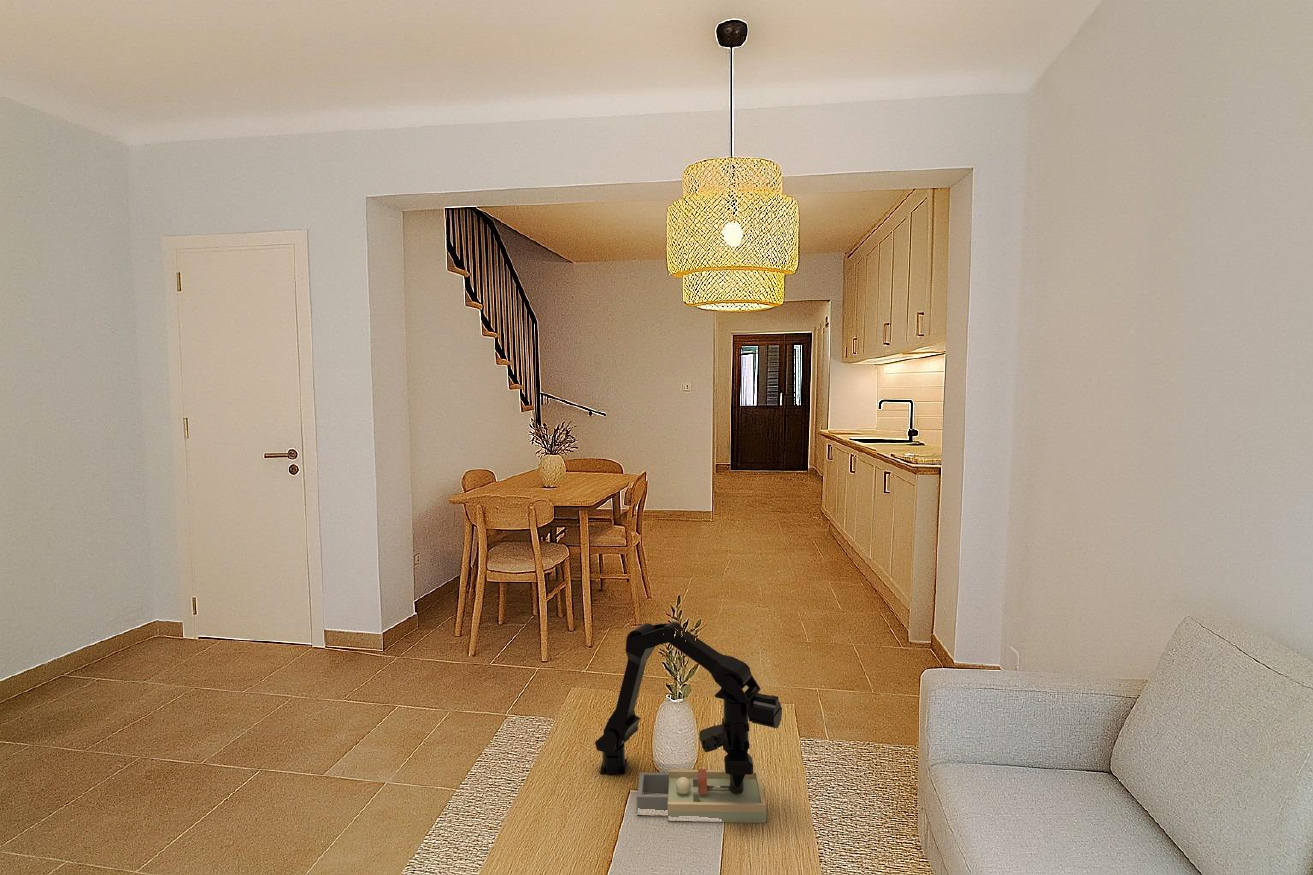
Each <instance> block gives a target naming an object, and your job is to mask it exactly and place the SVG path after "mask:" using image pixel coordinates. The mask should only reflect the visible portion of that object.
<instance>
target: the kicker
mask: <svg viewBox="0 0 1313 875" xmlns="http://www.w3.org/2000/svg"><path fill="white" fill-rule="evenodd" d="M697 770H698V792H699V794H707V791H730V792H731V793H733V794H741V793H743V791H744V784H743V781H742V783H741V785H740V787H735V785H734V781H733V776H732V774H730V786H721V785H707V772H706V770H707V769H706V768H698V769H697Z"/></svg>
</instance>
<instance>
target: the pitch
mask: <svg viewBox="0 0 1313 875" xmlns="http://www.w3.org/2000/svg"><path fill="white" fill-rule="evenodd" d="M706 772H707V785H721V786H730V774H726V773H725V769H720V770H719V769H706ZM668 773H669V792H668V793H667V795H668V816H671V817H679V816H699V817H708V818H719V819H722V821H723V822H722V823H741V824H742V823H747V824H748V823H749V824H750V823H752V824H754V823H755V824H757V823H758V824H761V823H763V824H764V823H765V824H766V823H767V804H766V798H765V794H764V788H763V782H762V779H761V773H760V770H758V769H756V770H754V769H753V774H751V775H745V777H744V779H743V784H744V791H743V793H741V794H733V793H731V792H730V791H707V794H699V792H698V769H669V770H668ZM681 777H686V778H687V779H689V781H690V783H691V788H690V791H689V792H688V793H686V794H680V793H679V792H678V791H677V790H676V781H677V780H678V779H679V778H681ZM668 816H667V817H668Z"/></svg>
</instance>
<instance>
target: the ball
mask: <svg viewBox="0 0 1313 875" xmlns="http://www.w3.org/2000/svg"><path fill="white" fill-rule="evenodd" d="M690 788H691V783H690V781H689V779H687V778H686V777H681V778H679V779H678V780H677V781H676V790H677V791H678V792H679V793H680V794H686V793H688V792H689V791H690Z"/></svg>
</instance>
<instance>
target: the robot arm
mask: <svg viewBox="0 0 1313 875" xmlns="http://www.w3.org/2000/svg"><path fill="white" fill-rule="evenodd" d="M675 628H676V629H677V630H678V631H677V632H676V636H675V638H674V634H675ZM683 629H685V628H684V627H682V625H681V624H680V623H679V622H677V621H672V622H668V623H667V622H666V623H657V624H656V623H655V624H652V623H648V622H646V623H643V624H641V625H639V626H638V627H636V628H635V629H633V630H631V631H629V633H628V634H627V636H626V640H625V654H626V656H627V662H626V666H625V670H624V673H623V674H624V675H623V678H622V682H621V686H620V691H619V694H618V698H617V703H616V707H615V709H614V711H613V712H612V714H611V716H610V717H609V718H608V720H607V723H606V725H605V727H604V729H603V735H601V736H600V737H599V738H598V739H596V741H594V744H595V748H596V750H597V751H598V752H602V761H601V765H600V770H599V774H600V775H625V774H626V773H627V765H628V759H627V758H626V756H625V752H626V751H625V748H626V747H625V743H626V742H628V741H629V740H631V737H632V736H633V735H634V734H635V733H637V732H638V730H639V729H638V727H639V722H640V720H641V717H640V716H637V715H636V713H635V708H636V705H637V700H638V696H639V692H640V688H641V683H642V681H643V677H644V672H645V668H646V665H647V662H648V660H649V658H650V657H651V655H652V653H653V652H654V650H655V648H656V647H657V646H660V645H663V644H664V645H665V644H667V643H668V644H670V645H671V646H673V647H674V648H675V649H677V650H678V651H680V653H682V654H683V655H685V656H686V657H688V658H689V659H690V660H692V661H694V662H695V663H697V664H698V665H699V666H701V667H702V668H704V669H705V670H706V671H707V672H709V674H710V675H711V677H712V678H713V681H714V682H715V683H716V684H717V685H718V686H719V687H720V689H719V690H718V691H717V692H716V693H715V694H714V698H716V699H721V700H723V717H722V718H721V724H715V725H712V726H710V727H706V728H704V729H702V730H700V731H699V732H698V733H699V741H700V744H701V749H703V751H704V753H710V752H713V751H716V750H718V748H722V749H723V751H725V753H726V755H725V756H724V759H723V761H724V770H725V773H726V774H732V776H733V781H734V785H735V787H740V785H741V783H742V781H743V779H744V777H745V775H751V774H753V770H754V762H753V761H754V760H753V756H751V755H750V753H748V751H749V749H750V748H751V747H750V739H749V738H750V736H749V735H750V734H749V732H750V723H749V722H751V723H752V724H755V725H760V726H764V727H768V728H773V729H779V727H780V725H781V720H782V717H783V716H782V715H783V707H782V704H781V702H780V701H779V696H778V695H768V694H763V693H759V692H760V691H761V687H760V685H759V684H758V683H757V681H756V680H755V678H754V676H753V674H752V672H751V667H750V666H749V665H748V664H747V663H746V662H745V661H742V660H740V659H739V658H736V657H734V656H731V655H726V654H722V653H720V652H718V651H717V650H715V649H714V648H713V647H711V646H710V645H709V644H706V643H705V642H704V641H702V640H701V639H700V638H698V637H697V636H695V635H694V634H693V633H691V632H690V631H688V630H687V629H685V630H686V632H685V635H684V636H682V635H681V631H683ZM663 633H664V635H663ZM681 636H682V637H681ZM695 637H696V641H695ZM685 640H686V642H685ZM745 687H747V689H746V690H745V691H744V690H743V689H744V688H745Z"/></svg>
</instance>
